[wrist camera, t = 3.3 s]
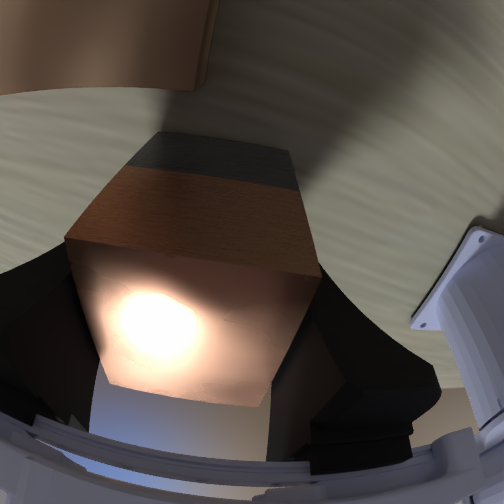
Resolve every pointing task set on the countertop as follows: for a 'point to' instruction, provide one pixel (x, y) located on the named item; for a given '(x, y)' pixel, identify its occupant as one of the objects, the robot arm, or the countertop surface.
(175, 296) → the block
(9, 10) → the walnut stand
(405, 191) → the countertop surface
